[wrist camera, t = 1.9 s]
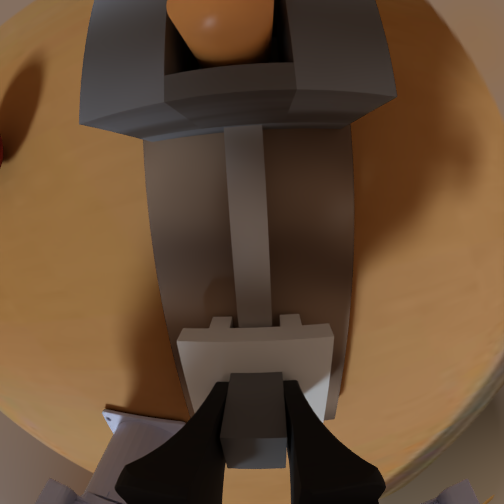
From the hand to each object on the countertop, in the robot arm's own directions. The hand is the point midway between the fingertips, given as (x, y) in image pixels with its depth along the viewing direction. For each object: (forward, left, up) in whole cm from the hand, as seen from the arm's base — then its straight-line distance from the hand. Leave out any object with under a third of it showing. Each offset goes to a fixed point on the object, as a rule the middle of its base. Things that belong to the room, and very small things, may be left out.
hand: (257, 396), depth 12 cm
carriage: (0, 0, -3) cm, 3 cm away
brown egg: (+15, 0, 0) cm, 15 cm away
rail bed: (+6, 0, -5) cm, 7 cm away
